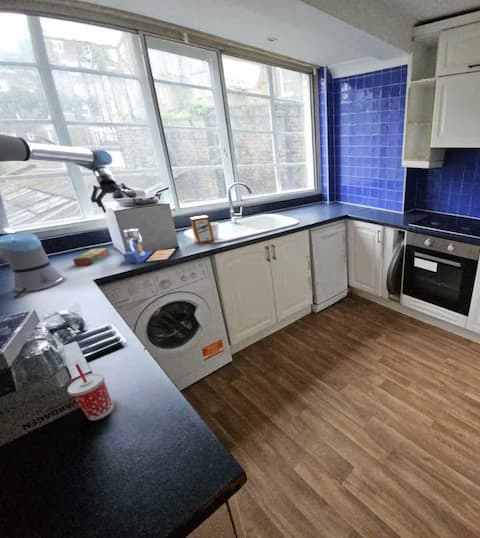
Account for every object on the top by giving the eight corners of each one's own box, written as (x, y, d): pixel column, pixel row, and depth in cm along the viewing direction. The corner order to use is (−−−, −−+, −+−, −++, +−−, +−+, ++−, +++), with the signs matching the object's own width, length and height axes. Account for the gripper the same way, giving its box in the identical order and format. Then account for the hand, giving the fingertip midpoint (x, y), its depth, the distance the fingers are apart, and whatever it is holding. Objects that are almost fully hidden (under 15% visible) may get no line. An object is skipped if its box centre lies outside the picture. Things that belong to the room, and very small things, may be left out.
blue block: (137, 262, 156) (134, 253, 154) (126, 263, 155) (123, 254, 153) (140, 258, 160) (137, 250, 158) (130, 260, 159) (127, 251, 157)
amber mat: (167, 259, 160) (166, 258, 160) (146, 262, 157) (145, 261, 157) (176, 249, 176) (175, 248, 175) (157, 251, 173) (156, 250, 173)
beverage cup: (81, 413, 68) (54, 366, 62) (113, 397, 72) (91, 351, 67) (87, 428, 64) (59, 379, 59) (121, 409, 69) (98, 362, 63)
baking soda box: (211, 238, 195) (205, 214, 189) (214, 240, 191) (208, 216, 184) (195, 241, 190) (189, 217, 183) (198, 243, 185) (192, 218, 179)
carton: (110, 254, 170) (107, 247, 168) (93, 264, 156) (90, 257, 154) (93, 255, 169) (91, 248, 167) (75, 266, 154) (71, 258, 152)
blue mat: (143, 262, 157) (142, 261, 157) (121, 265, 154) (120, 264, 154) (154, 251, 173) (154, 250, 173) (134, 253, 170) (134, 252, 170)
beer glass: (130, 258, 161) (121, 232, 155) (134, 254, 167) (125, 229, 161) (145, 256, 163) (136, 230, 158) (148, 252, 169) (140, 227, 163)
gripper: (132, 181, 177) (146, 209, 173) (77, 186, 160) (92, 217, 157) (131, 172, 171) (146, 201, 167) (74, 176, 155) (89, 208, 151)
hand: (120, 208), depth 162 cm, fingers open, 13 cm apart
